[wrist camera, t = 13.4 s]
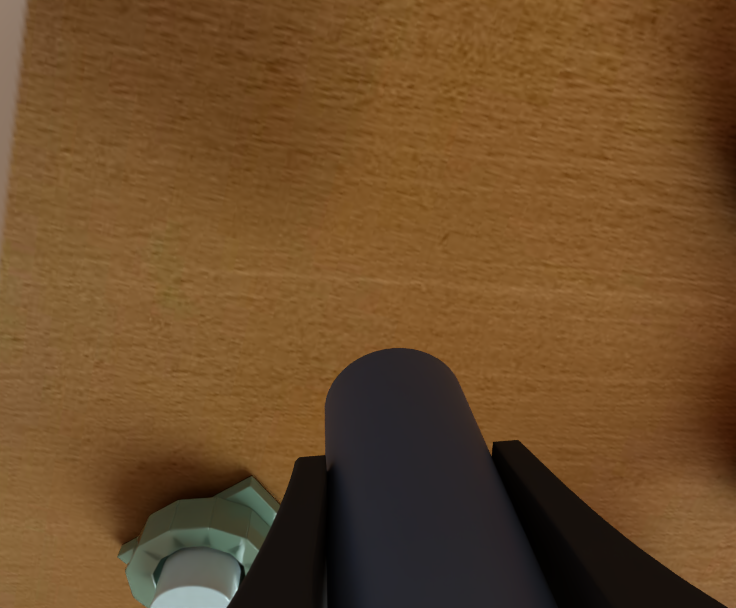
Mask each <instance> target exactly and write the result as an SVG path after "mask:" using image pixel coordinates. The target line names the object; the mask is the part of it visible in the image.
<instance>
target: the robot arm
mask: <svg viewBox="0 0 736 608" xmlns="http://www.w3.org/2000/svg"><path fill="white" fill-rule="evenodd" d="M492 459H493V461H494V463H495V466H496V468H497V470H498V472H499V475H500V477H501V479H502V481H503V484H504V486H505V488H506V490H507V493H508V495H509V497H510V500H511V502H512V504H513V506H514V509H515V511H516V513H517V515H518V518H519V520H520V522H521V524H522V527H523V529H524V531H525V533H526V536H527V538H528V540H529V542H530V545H531V547H532V549H533V552H534V554H535V556H536V558H537V561H538V563H539V565H540V567H541V570H542V572H543V574H544V576H545V579H546V581H547V583H548V585H549V588H550V590H551V592H552V594H553V597H554V599H555V601H556V604H557V606H558V608H728V607H726V606H724V605H723V604H721V603H720V602H718V601H717V600H715V599H713V598H712V597H710V596H709V595H707V594H705V593H704V592H702V591H701V590H699V589H698V588H696V587H694V586H693V585H691V584H690V583H688V582H687V581H685V580H684V579H682V578H681V577H679V576H678V575H676V574H675V573H674V572H672V571H671V570H669V569H668V568H667V567H665V566H664V565H662V564H661V563H660V562H658V561H657V560H655V559H654V558H653V557H651V556H650V555H648V554H647V553H646V552H644V551H643V550H642V549H640V548H639V547H638V546H636V545H635V544H634V543H632V542H631V541H630V540H629V539H627V538H626V537H625V536H624V535H622V534H621V533H620V532H619V531H617V530H616V529H615V528H614V527H613V526H611V525H610V524H609V523H608V522H606V521H605V520H604V519H603V518H602V517H600V516H599V515H598V514H597V513H596V512H595V511H593V510H592V509H591V508H590V507H589V506H588V505H587V504H586V503H585V502H583V501H582V500H581V499H580V498H579V497H578V496H577V495H576V494H575V493H573V492H572V491H571V490H570V489H569V488H568V487H567V486H566V485H565V484H564V483H563V482H561V481H560V480H559V479H558V478H557V477H556V476H555V475H554V474H553V473H552V472H551V471H550V470H549V469H548V468H547V467H546V466H545V465H544V464H543V463H542V462H541V461H540V460H539V459H538V458H536V457H535V456H534V455H533V454H532V453H531V452H530V451H529V450H528V449H527V448H526V447H525V446H524V445H523V444H522V443H521V442H520V441H519V440H512V441H499V442H493V448H492ZM327 510H328V497H327V465H326V455H322V456H309V457H299V458H298V459H297V460H296V461H295V464H294V468H293V472H292V475H291V479H290V482H289V484H288V487H287V490H286V493H285V495H284V498H283V500H282V503H281V505H280V507H279V510H278V512H277V514H276V516H275V519H274V521H273V523H272V525H271V528H270V530H269V532H268V534H267V536H266V538H265V540H264V542H263V544H262V546H261V548H260V550H259V552H258V554H257V555H256V557H255V559H254V561H253V563H252V565H251V567H250V569H249V571H248V572H247V574H246V576H245V578H244V579H243V581H242V583H241V585H240V586H239V588H238V590H237V591H236V593H235V595H234V596H233V598H232V600H231V601H230V603H229V604H228V606H227V608H327V544H326V533H327Z"/></svg>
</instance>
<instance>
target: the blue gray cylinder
mask: <svg viewBox="0 0 736 608" xmlns="http://www.w3.org/2000/svg"><path fill="white" fill-rule="evenodd" d="M325 455H326V465H327V497H328V510H327V533H326V544H327V608H558V606H557V604H556V601H555V599H554V597H553V594H552V592H551V590H550V588H549V585H548V583H547V581H546V579H545V576H544V574H543V572H542V570H541V567H540V565H539V563H538V561H537V558H536V556H535V554H534V552H533V549H532V547H531V545H530V542H529V540H528V538H527V536H526V533H525V531H524V529H523V527H522V524H521V522H520V520H519V518H518V515H517V513H516V511H515V509H514V506H513V504H512V502H511V500H510V497H509V495H508V493H507V490H506V488H505V486H504V484H503V481H502V479H501V477H500V475H499V472H498V470H497V468H496V466H495V463H494V461H493V459H492V457H491V454H490V452H489V450H488V448H487V445H486V443H485V441H484V438H483V436H482V434H481V432H480V429H479V427H478V425H477V423H476V420H475V418H474V416H473V414H472V411H471V409H470V407H469V405H468V402H467V400H466V398H465V396H464V393H463V391H462V389H461V386H460V384H459V382H458V380H457V378H456V376H455V375H454V373H453V372H452V371H451V370H450V368H449V367H448V366H446V365H445V364H444V363H443V362H442V361H440V360H439V359H437V358H436V357H434V356H432V355H430V354H427V353H425V352H422V351H418V350H414V349H406V348H391V349H384V350H380V351H375V352H373V353H370V354H367V355H365V356H363V357H361V358H359V359H357V360H356V361H354V362H353V363H351V364H350V365H348V366H347V367H346V368H345V369H344V370H343V371H342V372H341V373H340V374H339V375H338V376H337V378H336V379H335V381H334V382H333V383H332V385H331V387H330V389H329V391H328V395H327V398H326V403H325Z"/></svg>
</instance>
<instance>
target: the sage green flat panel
mask: <svg viewBox="0 0 736 608" xmlns="http://www.w3.org/2000/svg"><path fill="white" fill-rule="evenodd" d="M279 507H280V504H279V503H278V502H277V501H276V500H275V499H274V498H273V497H272V496H271V495H270V494H269V493H268V492H267V491H266V490H265V489H264V488H263V487H262V486H261V485H260V484H259V483H258V481H257V480H256V479H255V478H254V477H253V476H250V477H249V478H247V479H245V480H243V481H241V482H239V483H237V484H235V485H234V486H232V487H230V488H228V489H226V490H224V491H222V492H221V493H219V494H217V495H215V496H213V497H209V498H195V499H182V500H177V501H175V502H173V503H171V504H170V505H168V506H166V507H164V508H162V509H160V510H159V511H157V512H155V513H153V514H151V515H150V516H149V517H148V519H147V521H146V523H145V525H144V527H143V529H142V531H141V533H140V535H139V536H138V537H136V538H135V539H133V540H131V541H129V542H127V543H125V544H123V545H122V546H121V549H120V551H119V554H118V556H117V557H118V558H119V559H121V560H122V561H123V562H124V563H126V564H127V567H126V569H125V573H126V576H127V579H128V583H129V586H130V589H131V592H132V595H133V597H134V598H135V599H136V600H138V601H139V602H140V603H141V604H143V605H144V606H145V607H147V608H150V605H151V602H152V599H153V595H154V592H155V589H156V586H157V583H158V580H159V577H160V573H161V570H162V567H163V564H164V562H165V561H166V559H167V558H168V557H169V556H170V555H171V554H173V553H174V552H176V551H177V550H180V549H182V548H190V547H202V546H206V547H209V548H213V549H216V550H220V551H223V552H226V553H230V554H231V555H232V556H233V557H234V558H235V559H236V560H237V562H238V564H239V566H240V569H241V576H240V582H239V586H240V585H241V583H242V581H243V579H244V578H245V576H246V574H247V572H248V571H249V569H250V567H251V565H252V563H253V561H254V559H255V557H256V555H257V554H258V552H259V550H260V548H261V546H262V544H263V542H264V540H265V538H266V536H267V534H268V532H269V530H270V528H271V525H272V523H273V521H274V519H275V516H276V514H277V512H278V510H279Z"/></svg>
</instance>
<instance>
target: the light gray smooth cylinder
mask: <svg viewBox="0 0 736 608" xmlns="http://www.w3.org/2000/svg"><path fill="white" fill-rule="evenodd" d="M240 576H241V569H240V566H239V564H238V562H237V560H236V559H235V558H234V557H233V556H232V555H231V554H230V553H226V552H223V551H220V550H216V549H213V548H209V547H206V546H202V547H190V548H182V549H180V550H177V551H176V552H174V553H173V554H171V555H170V556H169V557H168V558H167V559H166V561H165V562H164V564H163V567H162V570H161V573H160V577H159V580H158V583H157V586H156V589H155V592H154V595H153V599H152V602H151V605H150V608H227V606H228V604H229V603H230V601H231V600H232V598H233V596H234V595H235V593H236V591H237V590H238V588H239V582H240Z"/></svg>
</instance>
